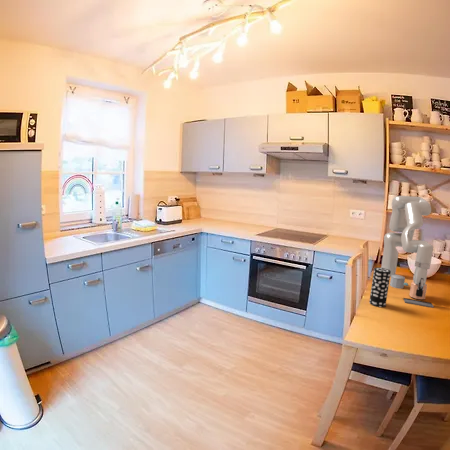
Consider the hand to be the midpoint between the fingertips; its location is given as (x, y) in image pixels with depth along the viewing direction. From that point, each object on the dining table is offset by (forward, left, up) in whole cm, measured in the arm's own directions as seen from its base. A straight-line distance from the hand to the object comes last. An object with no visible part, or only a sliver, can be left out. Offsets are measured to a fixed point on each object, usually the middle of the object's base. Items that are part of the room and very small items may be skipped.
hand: (417, 293), depth 189 cm
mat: (0, 0, -4) cm, 4 cm away
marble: (-3, +22, -3) cm, 22 cm away
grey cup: (-9, +16, -4) cm, 19 cm away
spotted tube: (-22, -18, -4) cm, 29 cm away
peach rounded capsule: (0, 0, -2) cm, 2 cm away
